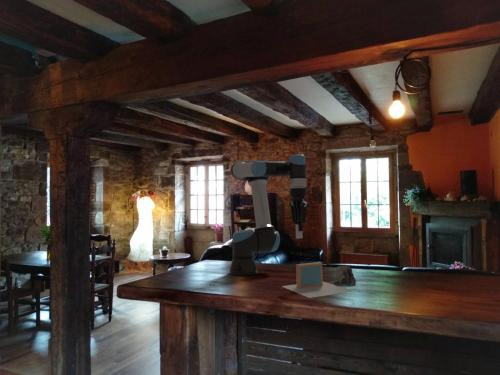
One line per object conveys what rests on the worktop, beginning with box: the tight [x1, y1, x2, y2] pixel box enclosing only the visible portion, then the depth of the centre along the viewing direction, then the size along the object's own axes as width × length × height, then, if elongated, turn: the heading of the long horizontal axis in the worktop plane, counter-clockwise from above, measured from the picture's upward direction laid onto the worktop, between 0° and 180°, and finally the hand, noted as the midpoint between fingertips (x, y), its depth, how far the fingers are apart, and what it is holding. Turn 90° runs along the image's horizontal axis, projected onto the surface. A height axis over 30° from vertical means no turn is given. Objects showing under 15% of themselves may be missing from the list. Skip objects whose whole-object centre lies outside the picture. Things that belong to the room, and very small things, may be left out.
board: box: [281, 281, 354, 299], centre depth 159 cm, size 22×22×1 cm
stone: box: [333, 265, 357, 286], centre depth 171 cm, size 10×10×10 cm
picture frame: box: [295, 261, 324, 289], centre depth 163 cm, size 3×12×10 cm, turn 115°
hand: (299, 238), depth 171 cm, fingers closed
